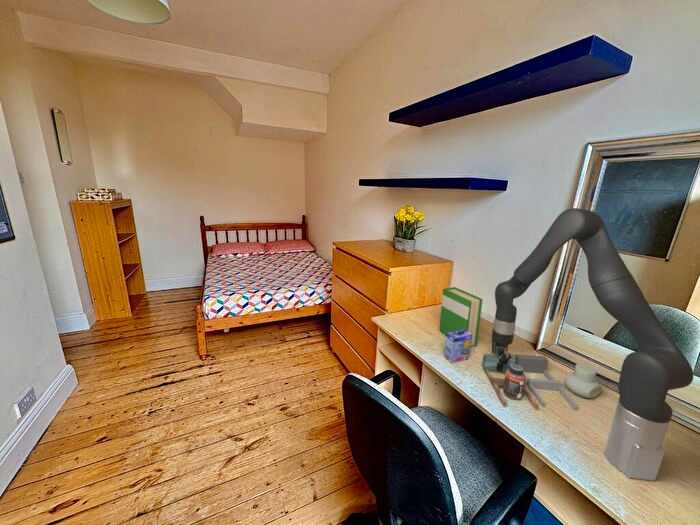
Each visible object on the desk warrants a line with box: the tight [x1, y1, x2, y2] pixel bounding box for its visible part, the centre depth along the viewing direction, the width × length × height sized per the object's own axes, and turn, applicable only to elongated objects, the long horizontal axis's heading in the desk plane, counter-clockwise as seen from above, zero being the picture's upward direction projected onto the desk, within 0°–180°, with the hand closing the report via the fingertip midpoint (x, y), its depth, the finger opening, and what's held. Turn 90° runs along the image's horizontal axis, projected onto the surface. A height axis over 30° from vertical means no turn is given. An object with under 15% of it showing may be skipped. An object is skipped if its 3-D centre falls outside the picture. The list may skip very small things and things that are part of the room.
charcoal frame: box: [514, 353, 579, 411], centre depth 105 cm, size 23×11×6 cm, turn 172°
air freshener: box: [563, 363, 603, 399], centre depth 102 cm, size 11×8×10 cm
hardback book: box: [439, 286, 483, 348], centre depth 136 cm, size 18×7×24 cm, turn 22°
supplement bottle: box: [502, 364, 526, 401], centre depth 100 cm, size 6×6×11 cm
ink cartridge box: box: [443, 329, 472, 363], centre depth 121 cm, size 10×6×14 cm, turn 111°
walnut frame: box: [481, 353, 540, 411], centre depth 105 cm, size 23×11×6 cm, turn 172°
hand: (497, 367), depth 115 cm, fingers closed on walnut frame, 3 cm apart
